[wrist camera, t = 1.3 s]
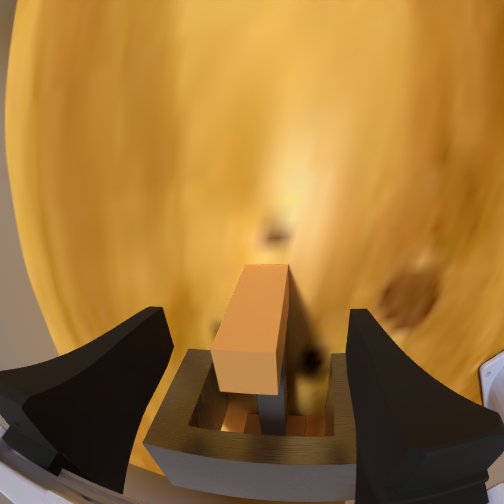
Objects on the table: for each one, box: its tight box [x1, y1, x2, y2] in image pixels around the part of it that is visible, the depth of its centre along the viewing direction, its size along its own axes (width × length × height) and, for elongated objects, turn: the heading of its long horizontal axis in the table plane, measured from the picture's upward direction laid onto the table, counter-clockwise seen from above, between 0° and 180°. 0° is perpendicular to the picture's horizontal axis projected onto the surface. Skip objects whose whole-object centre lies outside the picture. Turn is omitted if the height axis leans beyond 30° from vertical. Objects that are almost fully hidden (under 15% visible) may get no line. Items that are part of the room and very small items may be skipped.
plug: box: [210, 264, 306, 436], centre depth 15 cm, size 16×4×6 cm, turn 5°
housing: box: [143, 349, 356, 502], centre depth 14 cm, size 5×10×7 cm, turn 95°
